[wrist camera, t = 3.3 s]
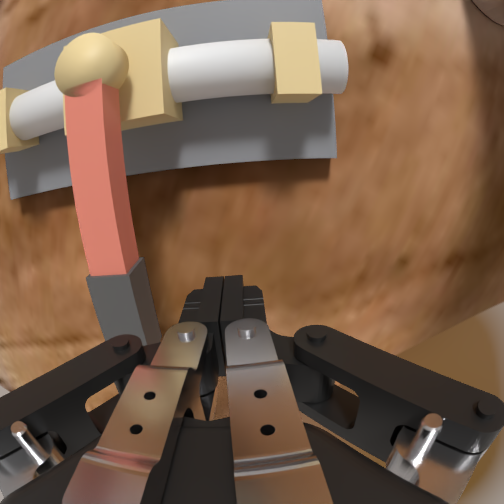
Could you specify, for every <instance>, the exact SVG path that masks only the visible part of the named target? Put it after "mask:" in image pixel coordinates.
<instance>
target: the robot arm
mask: <svg viewBox="0 0 504 504" xmlns="http://www.w3.org/2000/svg"><path fill="white" fill-rule="evenodd" d="M472 1H473V2H474V3H475V5H476V6H477V7H478V8H479V9H480V10H481V11H482V12H483V13H484V14H485V15H486V16H488V17H489V18H490V19H491V20H493V21H494V22H496V23H498V24H500V25H503V26H504V0H472ZM226 374H227V388H228V401H229V414H230V417H227V418H222V419H218V420H213V419H214V414H215V408H216V402H217V397H218V388H217V384H218V376H226ZM335 381H337V382H339V383H341V384H343V385H345V386H347V387H348V388H350V389H352V390H353V391H355V392H356V394H357V395H358V396H359V397H357V396H355V395H354V394H352V393H350V392H348V391H346V390H344V389H342V388H340V387H339V386H337V385H335V384H334V383H335ZM113 382H114V383H115V385H116V388H117V390H118V392H119V394H118V395H116V396H114V397H113V398H111V399H110V400H108V401H106V402H105V403H103V404H102V405H100V406H98V407H97V408H95V409H94V410H92V411H90V412H87V411H86V409H85V403H86V401H87V399H88V398H89V397H90V396H92V395H94V394H95V393H97V392H99V391H100V390H102V389H103V388H105V387H107V386H108V385H110V384H112V383H113ZM299 411H301V412H302V413H304V414H305V415H307V416H308V417H310V418H311V419H313V420H314V421H316V422H318V423H319V424H321V425H322V426H324V427H326V428H327V429H329V430H330V431H332V432H334V433H335V434H337V435H339V436H340V437H342V438H343V439H345V440H347V441H349V442H350V443H352V444H354V445H355V446H357V447H359V448H361V449H362V450H364V451H366V452H368V453H369V454H371V455H373V456H375V457H377V458H379V459H380V460H382V461H384V462H386V468H384V467H382V466H380V465H379V464H377V463H376V462H374V461H372V460H371V459H369V458H367V457H366V456H364V455H362V454H361V453H359V452H358V451H356V450H354V449H353V448H351V447H350V446H348V445H347V444H345V443H344V442H342V441H341V440H339V439H337V438H336V437H334V436H333V435H331V434H330V433H328V432H327V431H325V430H323V429H321V428H319V427H316V426H314V425H311V424H308V423H303V421H302V418H301V415H300V412H299ZM503 426H504V403H503V402H502V401H501V400H500V399H499V398H498V397H496V396H495V395H492V394H490V393H487V392H485V391H482V390H479V389H477V388H474V387H471V386H469V385H466V384H464V383H461V382H459V381H456V380H453V379H451V378H448V377H446V376H443V375H441V374H438V373H436V372H433V371H431V370H429V369H426V368H423V367H421V366H419V365H416V364H414V363H411V362H409V361H407V360H404V359H401V358H399V357H397V356H395V355H392V354H390V353H388V352H385V351H383V350H381V349H378V348H376V347H374V346H371V345H369V344H367V343H364V342H362V341H360V340H357V339H355V338H353V337H351V336H348V335H346V334H344V333H342V332H339V331H337V330H335V329H332V328H330V327H327V326H323V325H310V326H306V327H303V328H301V329H299V330H298V331H297V332H296V333H295V334H294V337H287V336H281V335H278V334H275V333H274V332H272V331H271V330H270V329H269V327H268V325H267V322H266V315H265V308H264V301H263V294H262V290H260V289H259V288H258V287H257V286H243V275H235V276H225V279H224V276H221V277H206V279H205V283H204V288H203V289H197V290H193V291H192V292H191V293H190V294H189V295H188V296H187V298H186V301H185V304H184V307H183V310H182V314H181V317H180V320H179V323H178V324H176V325H174V326H172V327H170V328H169V329H168V330H167V331H166V333H165V335H164V337H163V339H162V342H159V343H154V344H150V345H145V346H143V344H142V341H141V339H140V338H139V337H138V336H135V335H131V334H123V335H118V336H115V337H113V338H111V339H109V340H107V341H105V342H103V343H101V344H100V345H98V346H96V347H94V348H92V349H90V350H88V351H87V352H85V353H83V354H81V355H79V356H77V357H75V358H74V359H72V360H70V361H68V362H66V363H64V364H62V365H61V366H59V367H57V368H55V369H53V370H51V371H49V372H47V373H46V374H44V375H42V376H40V377H38V378H36V379H34V380H32V381H31V382H29V383H27V384H25V385H23V386H21V387H19V388H17V389H16V390H14V391H12V392H10V393H8V394H6V395H4V396H2V397H1V398H0V489H1V492H2V494H3V496H4V499H3V500H2V501H1V503H0V504H456V503H457V501H458V499H459V498H460V496H461V494H462V492H463V490H464V489H465V487H466V485H467V483H468V481H469V479H470V477H471V475H472V473H473V471H474V469H475V467H476V464H477V462H478V461H479V460H480V458H481V457H482V456H483V455H484V453H485V452H486V451H487V449H488V448H489V446H490V445H491V443H492V442H493V441H494V439H495V438H496V437H497V435H498V434H499V432H500V431H501V429H502V427H503Z"/></svg>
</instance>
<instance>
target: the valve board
mask: <svg viewBox="0 0 504 504" xmlns="http://www.w3.org/2000/svg"><path fill="white" fill-rule="evenodd" d="M86 33H99V34H102V35H104V36H106V37H107V38H109V39H110V40H111V41H113V42H114V43H116V44H117V45H119V46H120V47H121V48H123V50H124V51H125V52H126V54H127V56H128V59H129V70H128V74H127V77H126V79H125V81H124V83H123V85H122V86H121V87H120V89H119V105H120V120H121V133H122V144H123V154H124V163H125V172H126V176H128V175H134V174H141V173H148V172H155V171H162V170H170V169H178V168H186V167H195V166H204V165H214V164H225V163H237V162H250V161H265V160H283V159H308V158H337V148H336V128H335V113H334V99H333V94H342V93H343V92H344V90H345V88H346V84H347V79H348V59H347V53H346V50H345V47H344V45H343V43H342V42H341V41H339V40H327V33H326V26H325V19H324V12H323V6H322V0H225V1H215V2H206V3H198V4H191V5H185V6H179V7H173V8H168V9H163V10H158V11H153V12H149V13H144V14H140V15H136V16H132V17H128V18H125V19H121V20H118V21H114V22H111V23H108V24H104V25H101V26H98V27H95V28H92V29H89V30H86V31H84V32H81V33H78V34H75V35H73V36H70V37H68V38H65V39H63V40H60V41H58V42H55V43H53V44H51V45H48V46H46V47H44V48H42V49H40V50H37V51H35V52H33V53H31V54H29V55H27V56H25V57H23V58H21V59H19V60H17V61H15V62H13V63H11V64H10V65H8V66H6V67H4V72H3V89H2V90H0V154H3V153H5V160H6V169H7V177H8V184H9V191H10V197H11V200H12V199H16V198H20V197H24V196H28V195H32V194H36V193H41V192H45V191H49V190H54V189H58V188H63V187H68V186H72V180H71V172H70V164H69V155H68V145H67V133H66V118H65V95H64V94H63V93H62V92H61V91H60V90H59V89H58V87H57V85H56V83H55V77H54V72H55V66H56V62H57V60H58V58H59V56H60V54H61V52H62V51H63V49H64V48H65V47H66V46H67V45H68V44H69V43H70V42H71V41H72V40H74V39H75V38H77V37H79V36H81V35H83V34H86Z"/></svg>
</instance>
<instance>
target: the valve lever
mask: <svg viewBox="0 0 504 504" xmlns="http://www.w3.org/2000/svg"><path fill="white" fill-rule="evenodd" d="M128 70H129V59H128V56H127V54H126V52H125V51H124V50H123V48H121V47H120V46H119V45H117V44H116V43H114V42H113V41H111V40H110V39H109V38H107V37H106V36H104V35H102V34H99V33H86V34H83V35H81V36H79V37H77V38H75V39H74V40H72V41H71V42H70V43H69V44H68V45H67V46H66V47H65V48H64V49H63V51H62V52H61V54H60V56H59V58H58V60H57V62H56V66H55V72H54V77H55V83H56V85H57V87H58V89H59V90H60V91H61V92H62V93H63V94H64V95H65V118H66V133H67V145H68V155H69V164H70V172H71V180H72V187H73V193H74V200H75V206H76V211H77V217H78V222H79V227H80V232H81V237H82V242H83V246H84V250H85V255H86V259H87V263H88V267H89V271H90V274H89V275H88V276H87V277H86V281H87V284H88V288H89V291H90V295H91V298H92V302H93V305H94V308H95V311H96V314H97V318H98V321H99V324H100V327H101V330H102V333H103V335H104V338H105V341H107V340H109V339H111V338H113V337H115V336H118V335H123V334H131V335H135V336H138V337H139V338H140V339H141V341H142V344H143V346H145V345H150V344H154V343H159V342H160V340H161V337H162V335H161V331H160V327H159V323H158V319H157V315H156V311H155V307H154V302H153V298H152V294H151V289H150V284H149V280H148V275H147V270H146V265H145V260H144V257H139V255H138V249H137V244H136V238H135V233H134V227H133V221H132V215H131V208H130V202H129V195H128V188H127V180H126V172H125V163H124V154H123V144H122V133H121V120H120V105H119V89H120V87H121V86H122V85H123V83H124V81H125V79H126V77H127V74H128Z"/></svg>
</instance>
